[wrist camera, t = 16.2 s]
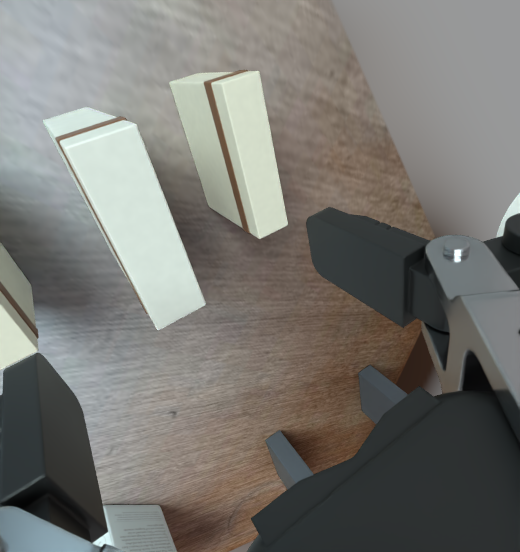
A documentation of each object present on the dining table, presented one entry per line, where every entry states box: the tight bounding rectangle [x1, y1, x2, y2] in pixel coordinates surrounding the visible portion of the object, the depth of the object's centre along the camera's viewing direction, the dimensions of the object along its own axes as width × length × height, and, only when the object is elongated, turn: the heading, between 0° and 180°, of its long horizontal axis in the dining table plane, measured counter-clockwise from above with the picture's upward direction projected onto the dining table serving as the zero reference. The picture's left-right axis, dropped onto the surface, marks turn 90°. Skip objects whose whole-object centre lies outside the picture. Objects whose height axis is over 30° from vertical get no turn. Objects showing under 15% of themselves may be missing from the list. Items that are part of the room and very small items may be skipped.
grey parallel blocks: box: [265, 365, 408, 489], centre depth 43 cm, size 16×8×7 cm, turn 104°
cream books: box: [0, 70, 288, 370], centre depth 19 cm, size 16×8×7 cm, turn 104°
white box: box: [43, 107, 206, 330], centre depth 18 cm, size 2×8×10 cm, turn 14°
